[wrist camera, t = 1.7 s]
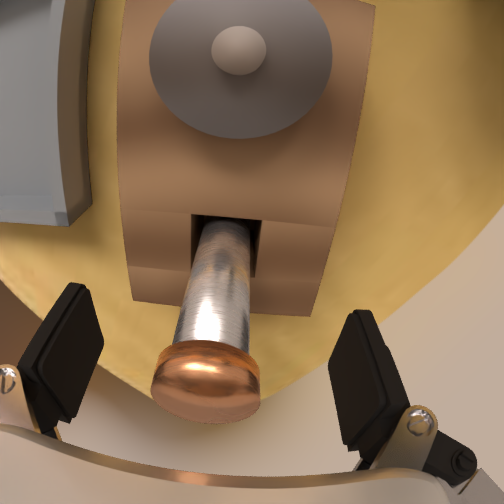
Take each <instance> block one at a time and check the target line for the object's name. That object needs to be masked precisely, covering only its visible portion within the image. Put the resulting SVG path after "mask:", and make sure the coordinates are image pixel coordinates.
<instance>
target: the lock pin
mask: <svg viewBox="0 0 504 504" xmlns="http://www.w3.org/2000/svg"><path fill="white" fill-rule="evenodd" d="M249 320H250V219H244V218H234V217H222V216H210V215H207V217H206V221H205V224H204V227H203V231H202V234H201V238H200V241H199V245H198V248H197V251H196V255H195V259H194V262H193V266H192V269H191V273H190V277H189V280H188V284H187V288H186V291H185V295H184V299H183V303H182V307H181V311H180V315H179V319H178V323H177V327H176V331H175V335H174V339H173V343H172V345H170V346H169V347H167V348H166V349H164V350H163V351H162V352H161V354H160V355H159V358H158V361H157V365H156V369H155V373H154V377H153V381H152V385H151V395H152V397H153V399H154V400H155V402H156V403H157V404H158V405H159V406H160V407H162V408H163V409H164V410H166V411H167V412H169V413H171V414H173V415H175V416H177V417H180V418H183V419H186V420H189V421H194V422H199V423H207V424H225V423H232V422H237V421H240V420H243V419H246V418H248V417H250V416H251V415H253V414H254V413H255V412H256V411H257V410H258V408H259V406H260V372H259V368H258V365H257V363H256V362H255V361H254V359H253V358H252V357H251V356H249Z"/></svg>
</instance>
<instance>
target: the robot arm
mask: <svg viewBox="0 0 504 504" xmlns="http://www.w3.org/2000/svg"><path fill="white" fill-rule="evenodd" d="M103 346H104V338H103V335H102V332H101V329H100V326H99V322H98V319H97V315H96V312H95V308H94V305H93V301H92V297H91V294H90V290H89V289H87V288H86V286H85V285H84V284H79V283H72V282H71V283H69V284H68V285H67V287H66V288H65V289H64V291H63V292H62V294H61V295H60V297H59V298H58V300H57V301H56V302H55V304H54V305H53V307H52V308H51V310H50V311H49V313H48V315H47V316H46V318H45V319H44V321H43V322H42V324H41V326H40V327H39V329H38V330H37V332H36V334H35V335H34V337H33V338H32V340H31V342H30V343H29V345H28V347H27V348H26V350H25V352H24V354H23V355H22V357H21V359H20V361H19V363H18V366H17V367H14V366H12V365H8V364H5V365H1V366H0V504H504V493H503V491H502V490H501V489H500V488H499V487H498V486H497V485H496V484H495V482H494V481H493V480H492V479H491V478H490V477H489V476H488V475H487V474H486V473H485V472H484V470H483V469H482V468H480V469H477V459H476V456H475V454H474V453H473V451H472V450H470V449H469V448H468V447H466V446H464V445H462V444H461V443H459V442H457V441H456V440H454V439H452V438H451V437H449V436H447V435H446V434H444V433H442V432H440V431H439V430H437V429H438V422H437V419H436V417H435V415H434V414H433V412H432V411H431V410H429V409H428V408H426V407H424V406H420V405H414V406H410V403H409V400H408V397H407V394H406V391H405V389H404V386H403V383H402V381H401V378H400V375H399V373H398V370H397V368H396V365H395V362H394V360H393V357H392V355H391V352H390V350H389V348H388V347H387V346H386V345H385V343H384V340H383V338H382V335H381V333H380V331H379V328H378V326H377V323H376V321H375V319H374V316H373V314H372V312H371V311H370V310H354V311H353V313H350V314H349V315H348V317H347V319H346V322H345V324H344V326H343V329H342V331H341V334H340V336H339V338H338V341H337V343H336V345H335V348H334V350H333V352H332V354H331V357H330V359H329V362H328V371H329V375H330V380H331V385H332V390H333V395H334V399H335V405H336V409H337V415H338V420H339V425H340V430H341V436H342V441H343V444H344V445H347V447H348V452H349V451H357V450H359V453H360V457H361V459H360V460H359V462H358V463H357V465H356V466H355V468H354V469H353V471H352V472H343V473H335V474H321V475H307V476H285V477H252V476H229V475H215V474H205V473H195V472H188V471H180V470H174V469H167V468H161V467H156V466H151V465H145V464H140V463H136V462H131V461H127V460H123V459H119V458H115V457H111V456H107V455H104V454H100V453H97V452H93V451H90V450H87V449H83V448H80V447H77V446H74V445H71V444H68V443H65V442H63V441H62V439H61V436H60V434H59V431H58V429H57V423H58V420H60V421H63V422H66V423H69V424H70V422H71V420H72V418H75V417H76V415H77V413H78V410H79V407H80V404H81V402H82V399H83V396H84V394H85V391H86V388H87V386H88V383H89V381H90V378H91V376H92V373H93V371H94V368H95V366H96V364H97V361H98V359H99V356H100V354H101V352H102V349H103Z"/></svg>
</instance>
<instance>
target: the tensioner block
mask: <svg viewBox="0 0 504 504" xmlns="http://www.w3.org/2000/svg"><path fill="white" fill-rule="evenodd" d="M374 15H375V6H374V5H371V4H368V3H364V2H361V1H358V0H126V3H125V10H124V17H123V25H122V34H121V44H120V55H119V69H118V89H117V159H118V180H119V195H120V207H121V218H122V227H123V236H124V245H125V252H126V260H127V267H128V273H129V280H130V286H131V292H132V297H133V301H140V302H148V303H156V304H164V305H173V306H182V303H183V299H184V295H185V291H186V288H187V284H188V280H189V277H190V273H191V269H192V266H193V262H194V259H195V255H196V251H197V248H198V245H199V241H200V238H201V234H202V231H203V227H204V224H205V221H206V217H207V215H210V216H222V217H234V218H244V219H250V313H259V314H273V315H290V316H309V317H310V315H311V312H312V309H313V306H314V303H315V299H316V296H317V293H318V289H319V286H320V283H321V279H322V276H323V272H324V269H325V265H326V262H327V258H328V254H329V251H330V247H331V243H332V240H333V236H334V232H335V228H336V224H337V220H338V216H339V212H340V208H341V204H342V200H343V196H344V192H345V187H346V183H347V179H348V174H349V170H350V165H351V160H352V156H353V151H354V146H355V141H356V136H357V131H358V125H359V120H360V115H361V109H362V103H363V97H364V91H365V85H366V79H367V72H368V65H369V58H370V50H371V42H372V34H373V25H374Z"/></svg>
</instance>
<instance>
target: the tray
mask: <svg viewBox="0 0 504 504" xmlns="http://www.w3.org/2000/svg"><path fill="white" fill-rule="evenodd" d="M94 3H95V0H0V222H11V223H25V224H39V225H53V226H67V227H69V226H70V225H71V224H72V223H73V222H74V221H75V220H76V219H77V218H78V217H79V216H80V215H81V214H82V213H83V212H84V211H85V210H87V209H88V208H89V207H90V206H91V205H92V196H91V186H90V176H89V163H88V147H87V111H86V104H87V70H88V54H89V42H90V33H91V24H92V16H93V9H94Z"/></svg>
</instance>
